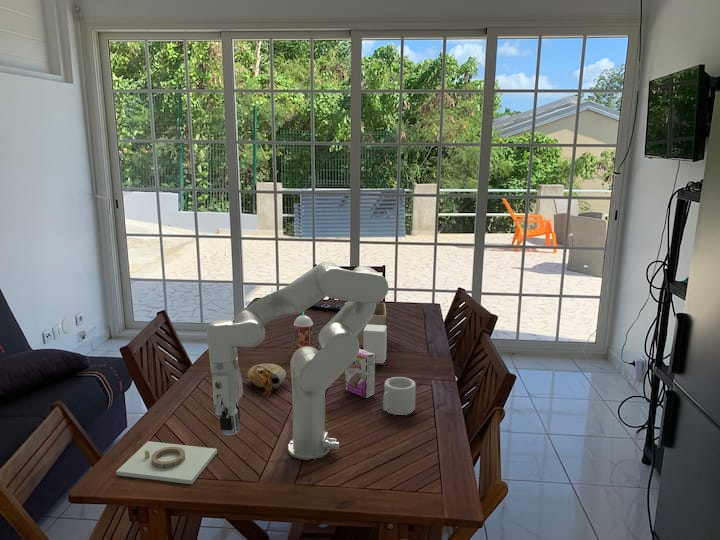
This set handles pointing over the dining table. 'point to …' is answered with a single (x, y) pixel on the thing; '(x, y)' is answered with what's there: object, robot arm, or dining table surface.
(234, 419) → the pill bottle
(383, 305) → the flower pot
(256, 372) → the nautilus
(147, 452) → the socket board
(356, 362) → the candy bar box
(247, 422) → the dining table surface
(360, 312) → the robot arm
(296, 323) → the smoothie
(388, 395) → the mug
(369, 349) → the supplement box
